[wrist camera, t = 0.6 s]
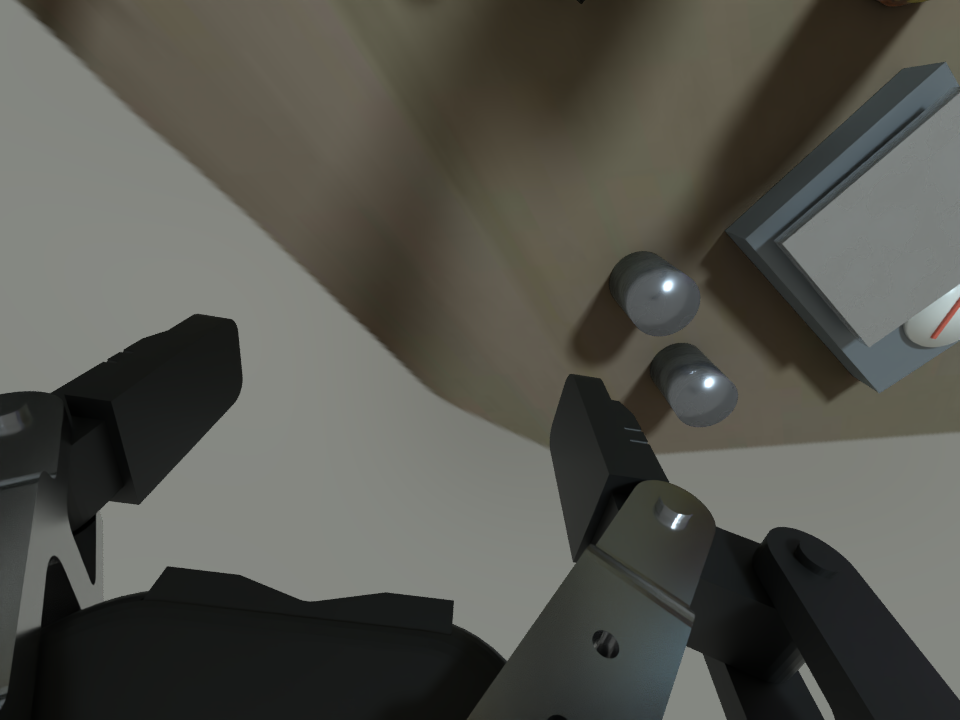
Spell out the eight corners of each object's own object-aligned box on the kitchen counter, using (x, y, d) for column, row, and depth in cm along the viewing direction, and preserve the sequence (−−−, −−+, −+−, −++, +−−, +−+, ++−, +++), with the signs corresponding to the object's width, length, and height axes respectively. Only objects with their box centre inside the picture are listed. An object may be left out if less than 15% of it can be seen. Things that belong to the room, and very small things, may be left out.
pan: (951, 87, 26) (968, 85, 25) (1028, 221, 29) (1044, 224, 29) (773, 240, 30) (782, 243, 29) (859, 341, 34) (868, 347, 33)
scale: (902, 68, 29) (955, 60, 26) (1019, 262, 35) (1073, 274, 32) (724, 230, 34) (749, 240, 31) (852, 375, 40) (885, 397, 36)
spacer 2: (681, 332, 38) (714, 364, 33) (714, 364, 39) (750, 400, 34) (639, 368, 40) (663, 405, 34) (671, 397, 41) (699, 436, 36)
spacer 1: (642, 238, 34) (671, 257, 29) (679, 277, 36) (714, 302, 30) (597, 282, 36) (616, 308, 31) (634, 318, 37) (659, 348, 32)
